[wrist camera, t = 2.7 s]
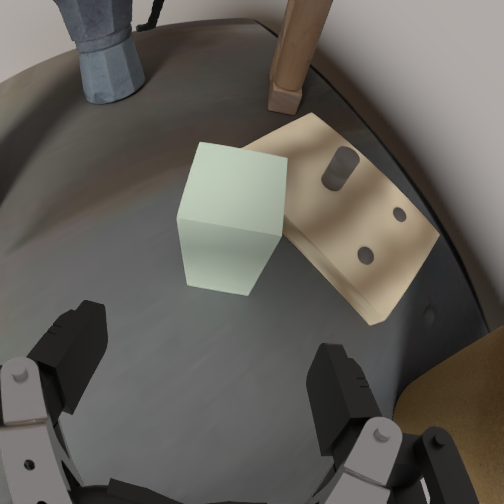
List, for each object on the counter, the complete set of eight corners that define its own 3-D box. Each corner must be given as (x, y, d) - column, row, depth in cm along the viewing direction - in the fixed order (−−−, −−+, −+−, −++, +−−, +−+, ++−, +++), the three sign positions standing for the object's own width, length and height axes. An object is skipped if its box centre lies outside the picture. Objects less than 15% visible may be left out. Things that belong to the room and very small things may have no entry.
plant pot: (382, 506, 17) (503, 555, 3) (336, 386, 22) (498, 380, 7) (475, 424, 21) (586, 414, 7) (444, 317, 26) (564, 263, 11)
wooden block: (292, 75, 38) (326, -26, 21) (295, 117, 34) (342, -9, 17) (269, 70, 37) (296, -34, 21) (266, 111, 33) (303, -20, 17)
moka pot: (80, 75, 32) (61, -34, 14) (175, 65, 35) (181, -56, 17) (58, 113, 29) (23, -14, 11) (166, 102, 31) (167, -49, 13)
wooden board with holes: (222, 174, 28) (229, 126, 22) (305, 126, 33) (322, 86, 27) (370, 325, 24) (414, 309, 18) (426, 243, 29) (462, 217, 23)
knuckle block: (187, 285, 23) (176, 217, 13) (198, 230, 25) (199, 141, 15) (248, 295, 24) (281, 236, 14) (255, 240, 26) (287, 158, 16)
